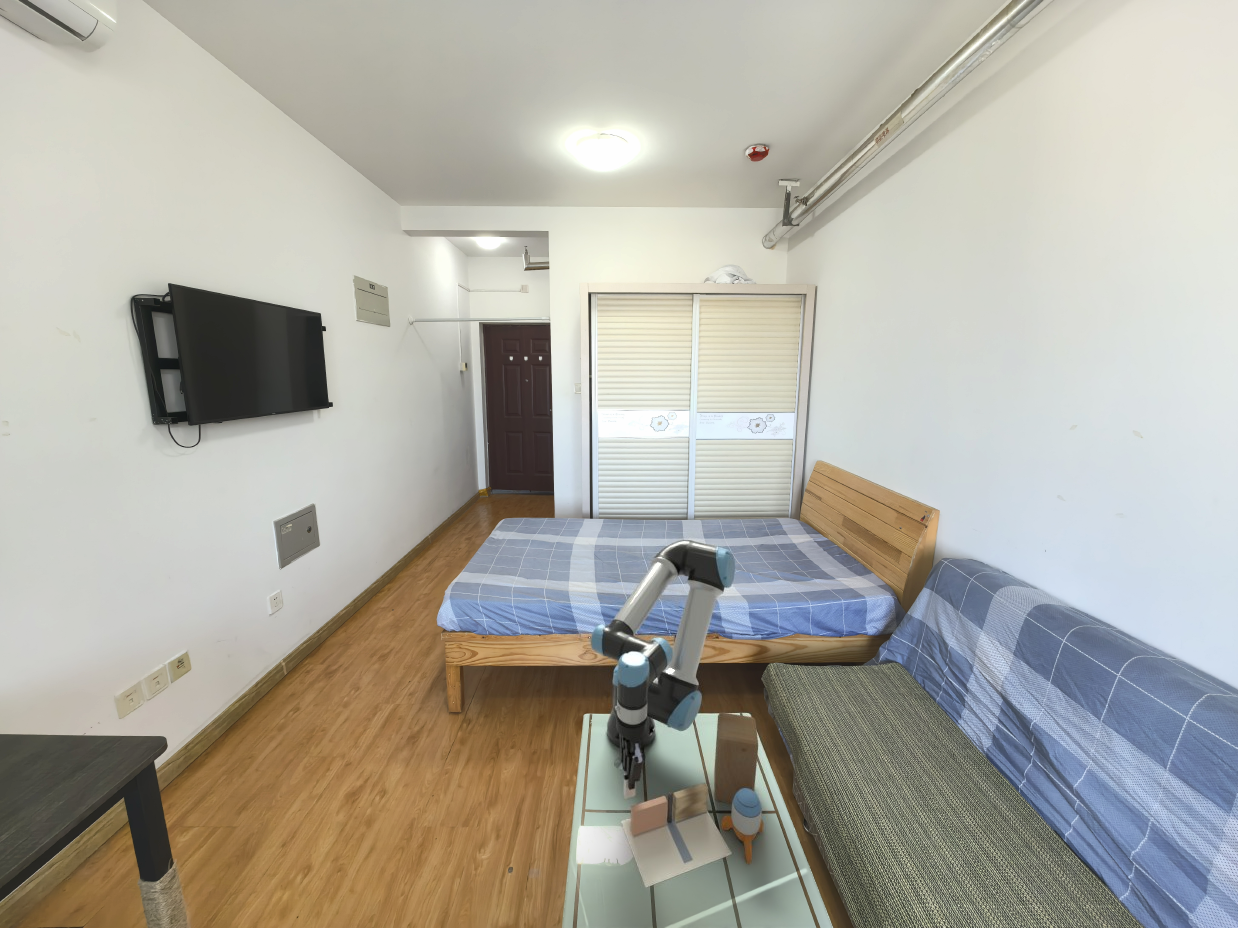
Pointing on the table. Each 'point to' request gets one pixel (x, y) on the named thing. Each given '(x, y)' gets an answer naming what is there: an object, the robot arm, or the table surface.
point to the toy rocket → (745, 818)
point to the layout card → (676, 847)
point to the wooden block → (735, 755)
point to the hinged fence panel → (648, 815)
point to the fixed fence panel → (687, 802)
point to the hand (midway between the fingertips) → (629, 794)
